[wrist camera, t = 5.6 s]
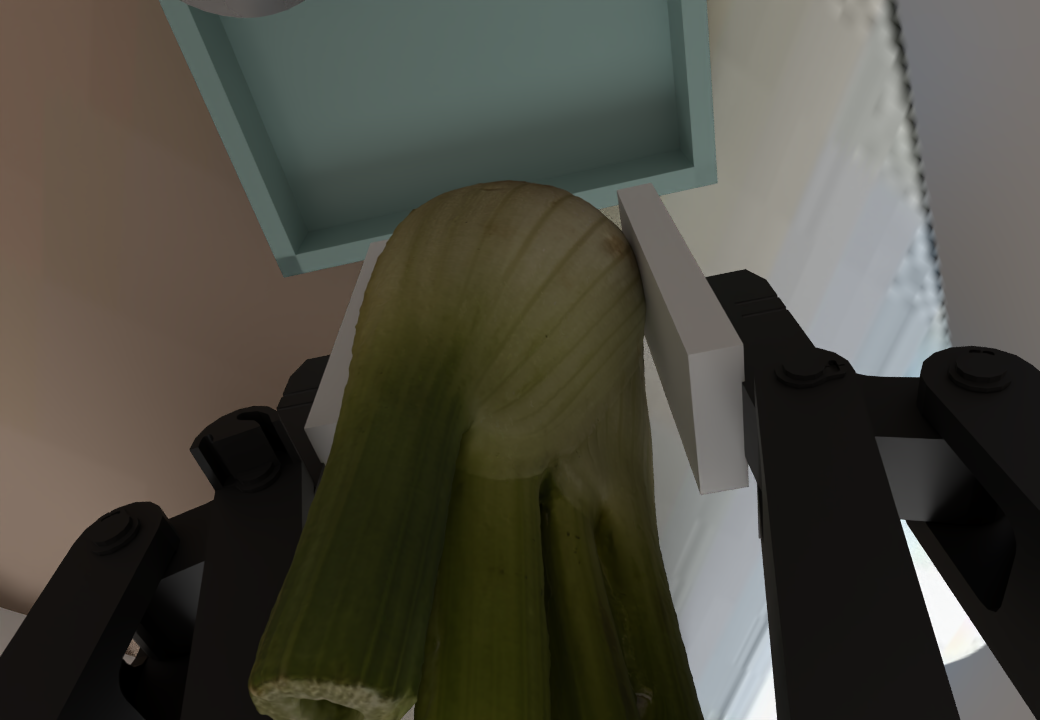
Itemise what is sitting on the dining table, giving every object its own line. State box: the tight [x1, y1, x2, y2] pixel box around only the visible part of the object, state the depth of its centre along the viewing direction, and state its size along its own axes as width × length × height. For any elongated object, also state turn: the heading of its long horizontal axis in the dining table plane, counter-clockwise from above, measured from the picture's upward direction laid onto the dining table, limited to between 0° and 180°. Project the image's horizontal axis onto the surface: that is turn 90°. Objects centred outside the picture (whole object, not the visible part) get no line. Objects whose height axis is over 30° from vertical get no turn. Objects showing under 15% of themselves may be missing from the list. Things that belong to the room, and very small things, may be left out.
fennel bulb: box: [248, 180, 704, 720], centre depth 11 cm, size 6×5×12 cm
